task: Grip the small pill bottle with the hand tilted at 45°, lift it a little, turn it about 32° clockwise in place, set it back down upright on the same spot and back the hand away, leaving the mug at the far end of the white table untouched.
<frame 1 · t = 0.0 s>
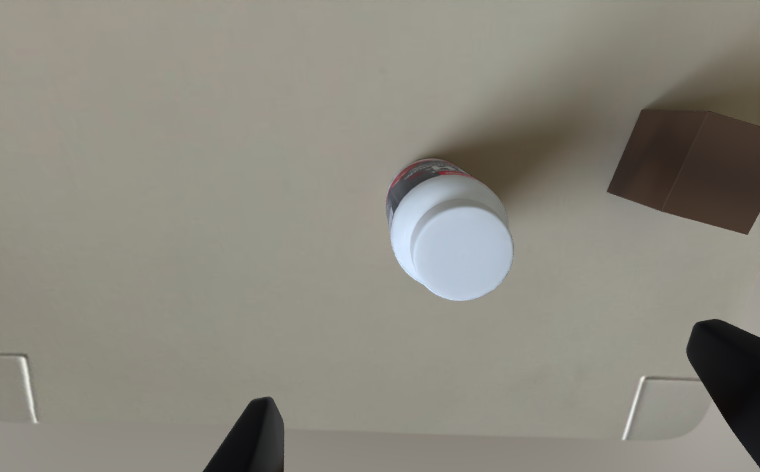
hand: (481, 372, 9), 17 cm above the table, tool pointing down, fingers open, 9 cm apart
pill bottle: (427, 200, 26), on the table
walnut block: (660, 162, 25), on the table
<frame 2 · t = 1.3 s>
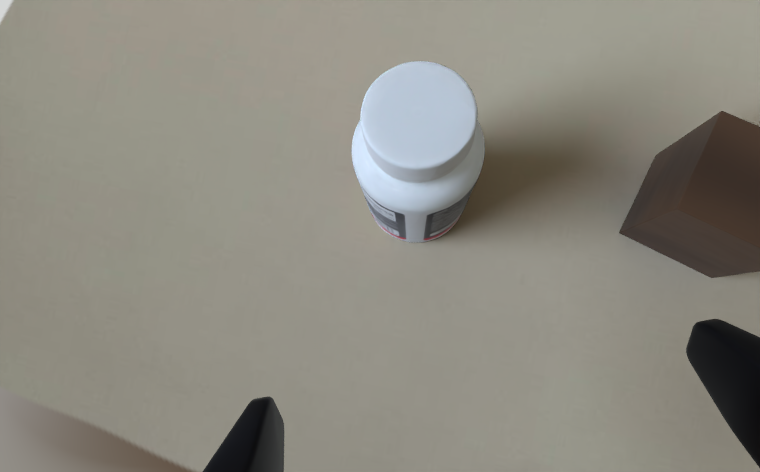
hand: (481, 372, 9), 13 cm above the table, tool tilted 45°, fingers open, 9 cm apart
pill bottle: (415, 198, 24), on the table
walnut block: (682, 214, 22), on the table
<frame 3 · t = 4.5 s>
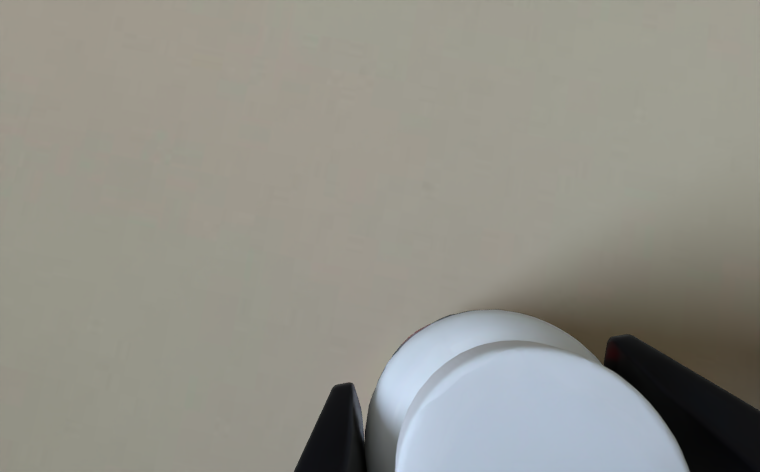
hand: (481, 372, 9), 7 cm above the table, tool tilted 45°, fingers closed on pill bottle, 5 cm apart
pill bottle: (456, 394, 15), on the table, touching gripper
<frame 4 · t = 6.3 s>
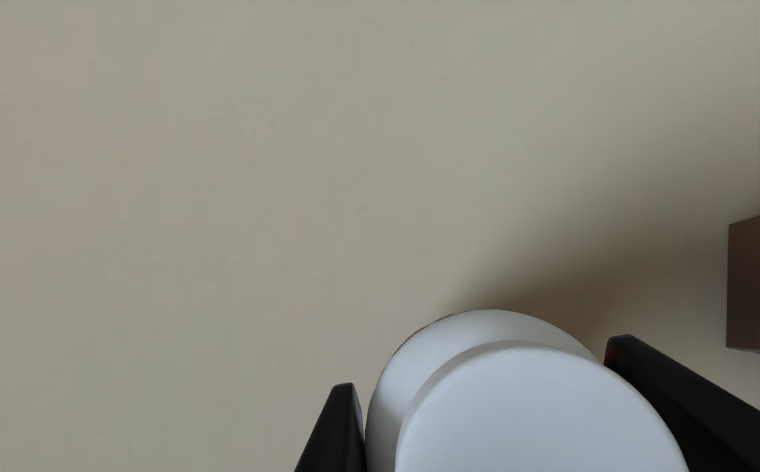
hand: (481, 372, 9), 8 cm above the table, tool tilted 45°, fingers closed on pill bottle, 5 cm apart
pill bottle: (456, 394, 15), point 1 cm above the table, touching gripper
when the fingers open (7 cm above the table, at t = 7.9 s): pill bottle stays where it is, on the table.
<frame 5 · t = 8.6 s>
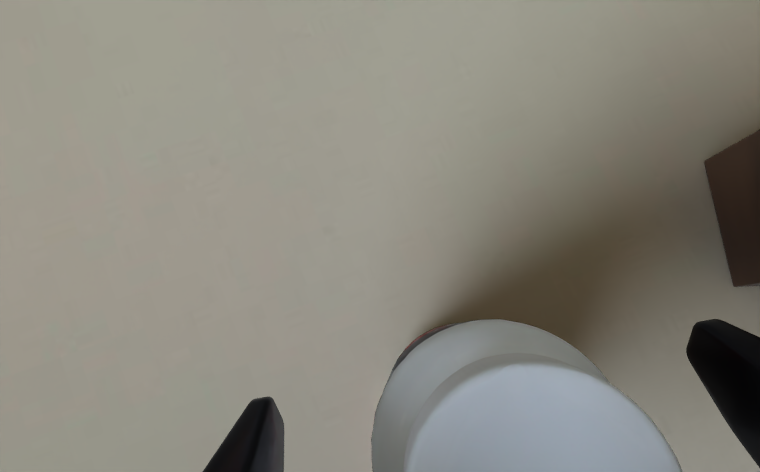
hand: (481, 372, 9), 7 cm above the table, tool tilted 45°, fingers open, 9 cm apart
pill bottle: (459, 397, 15), on the table
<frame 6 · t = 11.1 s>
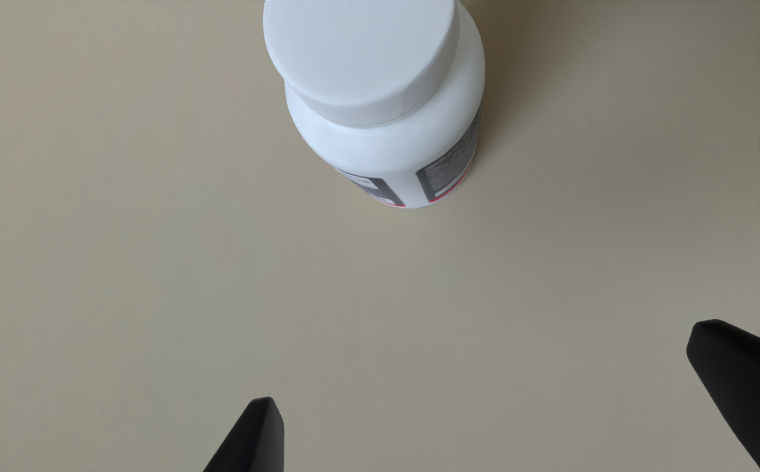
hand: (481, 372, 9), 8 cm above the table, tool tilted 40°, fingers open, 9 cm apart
pill bottle: (411, 148, 18), on the table
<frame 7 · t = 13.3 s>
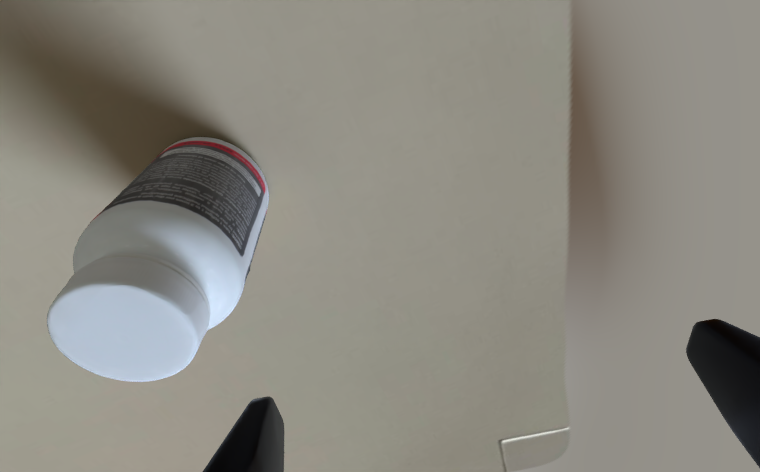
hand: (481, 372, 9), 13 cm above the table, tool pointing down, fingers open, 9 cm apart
pill bottle: (214, 187, 20), on the table
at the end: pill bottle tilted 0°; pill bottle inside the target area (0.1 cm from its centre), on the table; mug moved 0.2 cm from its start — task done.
